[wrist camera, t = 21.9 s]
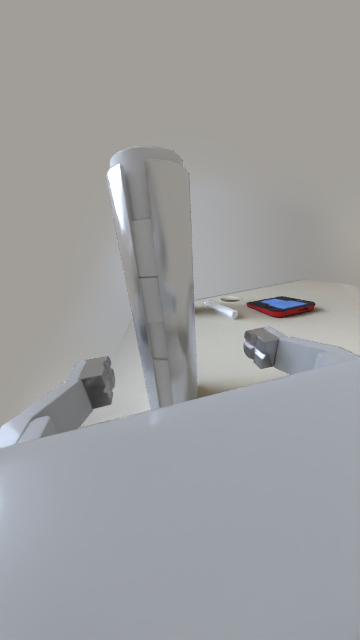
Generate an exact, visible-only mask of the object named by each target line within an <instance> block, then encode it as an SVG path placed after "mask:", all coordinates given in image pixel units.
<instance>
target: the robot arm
mask: <svg viewBox="0 0 360 640" xmlns="http://www.w3.org/2000/svg"><path fill="white" fill-rule="evenodd" d="M244 338H245V339H246V341H245V343H244V352H245V354H246V355H247V356H248V357H249V358H251V359H254V363H255V364H256V365H257V366H258V367H259V368H260V369H263V368H268V367H273V366H274V367H275V368H277V369H279V370H281V371H284V372H286V373H288V374H290V375H289V376H285V377H281V378H277V379H273V380H269V381H265V382H261V383H257V384H253V385H249V386H245V387H241V388H237V389H233V390H229V391H225V392H221V393H217V394H213V395H209V396H206V397H202V398H198V399H194V400H190V401H186V402H182V403H178V404H174V405H170V406H166V407H162V408H158V409H154V410H150V411H146V412H142V413H138V414H134V415H130V416H126V417H122V418H118V419H114V420H110V421H106V422H102V423H98V424H94V425H90V426H87V427H83V428H79V427H80V426H81V424H82V423H83V422H84V421H85V419H86V418H87V417H88V416H89V414H90V413H91V412H92V411H93V409H95V408H99V407H103V406H106V405H110V404H111V403H112V397H113V392H112V389H113V388H114V385H115V376H114V372H113V369H111V368H110V366H111V361H110V358H109V357H108V356H107V357H101V358H94V359H89V360H83V361H78V362H76V364H75V365H74V368H73V369H72V371H71V373H70V375H69V376H68V378H67V380H66V382H65V383H61V384H60V385H58V386H57V387H56V388H54V389H53V390H51V391H50V392H49V393H47V394H46V395H44V396H43V397H42V398H40V399H39V400H37V401H36V402H35V403H33V404H32V405H30V406H29V407H28V408H26V409H25V410H23V411H22V412H21V413H19V414H18V415H16V416H15V417H14V418H12V419H11V420H9V421H8V422H7V423H5V424H4V425H3V426H2V427H1V428H0V640H360V356H358V355H356V354H354V353H352V352H350V351H347V350H345V349H343V348H341V347H337V346H332V345H327V344H323V343H318V342H313V341H309V340H304V339H299V338H294V337H288V336H286V335H284V334H282V333H280V332H279V331H277V330H275V329H273V328H271V327H268V326H267V327H263V328H258V329H254V330H249V331H246V332H245V336H244ZM78 428H79V429H78Z"/></svg>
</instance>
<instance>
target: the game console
mask: <svg viewBox="0 0 360 640" xmlns="http://www.w3.org/2000/svg"><path fill="white" fill-rule="evenodd" d="M247 306H248V307H251V308H253V309H256V310H258V311H261V312H263V313H265V314H268V315H270V316H273V317H284V316H289V315H294V314H298V313H302V312H307V311H311V310H313V309H314V306H315V303H314V302H311V301H305V300H300V299H295V298H289V297H283V296H281V297H275V298H270V299H264V300H259V301H254V302H248V303H247Z"/></svg>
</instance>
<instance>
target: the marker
mask: <svg viewBox="0 0 360 640" xmlns="http://www.w3.org/2000/svg"><path fill="white" fill-rule="evenodd" d="M204 303H205V305H206V307H208V308H210V309H212V310H215V311H217V312H219V313H221V314H223V315H225V316H227V317H229V318H232V319H236V318H237V316H238V312H237V311H236V310H233V309H231V308H228V307H226V306H223V305H221V304H218V303H216V302H213V301H211V300H207V301H205V302H204Z"/></svg>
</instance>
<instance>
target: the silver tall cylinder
mask: <svg viewBox="0 0 360 640" xmlns="http://www.w3.org/2000/svg"><path fill="white" fill-rule="evenodd" d="M110 168H111V169H110V170H109V171H108V172H107V174H106V183H107V188H108V193H109V198H110V204H111V209H112V214H113V219H114V224H115V229H116V235H117V239H118V245H119V250H120V255H121V260H122V265H123V270H124V275H125V280H126V285H127V291H128V296H129V301H130V306H131V311H132V316H133V321H134V327H135V332H136V337H137V342H138V347H139V352H140V357H141V362H142V368H143V373H144V378H145V383H146V388H147V393H148V398H149V403H150V408H151V410H154V409H158V408H162V407H166V406H170V405H174V404H178V403H182V402H186V401H190V400H194V399H198V386H197V360H196V334H195V308H194V283H193V257H192V231H191V208H190V181H189V180H190V179H189V173H188V171H187V170H186V169H185V168H184V167H183V160H182V159H181V158H180V156H178V155H177V154H176V153H175V152H174V151H172V150H168V149H165V148H160V147H155V146H154V147H153V146H140V147H131V148H128V149H125V150H122V151H120V152H118V153H116V154H115V155H114V156H113V157H112V158H111V161H110Z"/></svg>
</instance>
